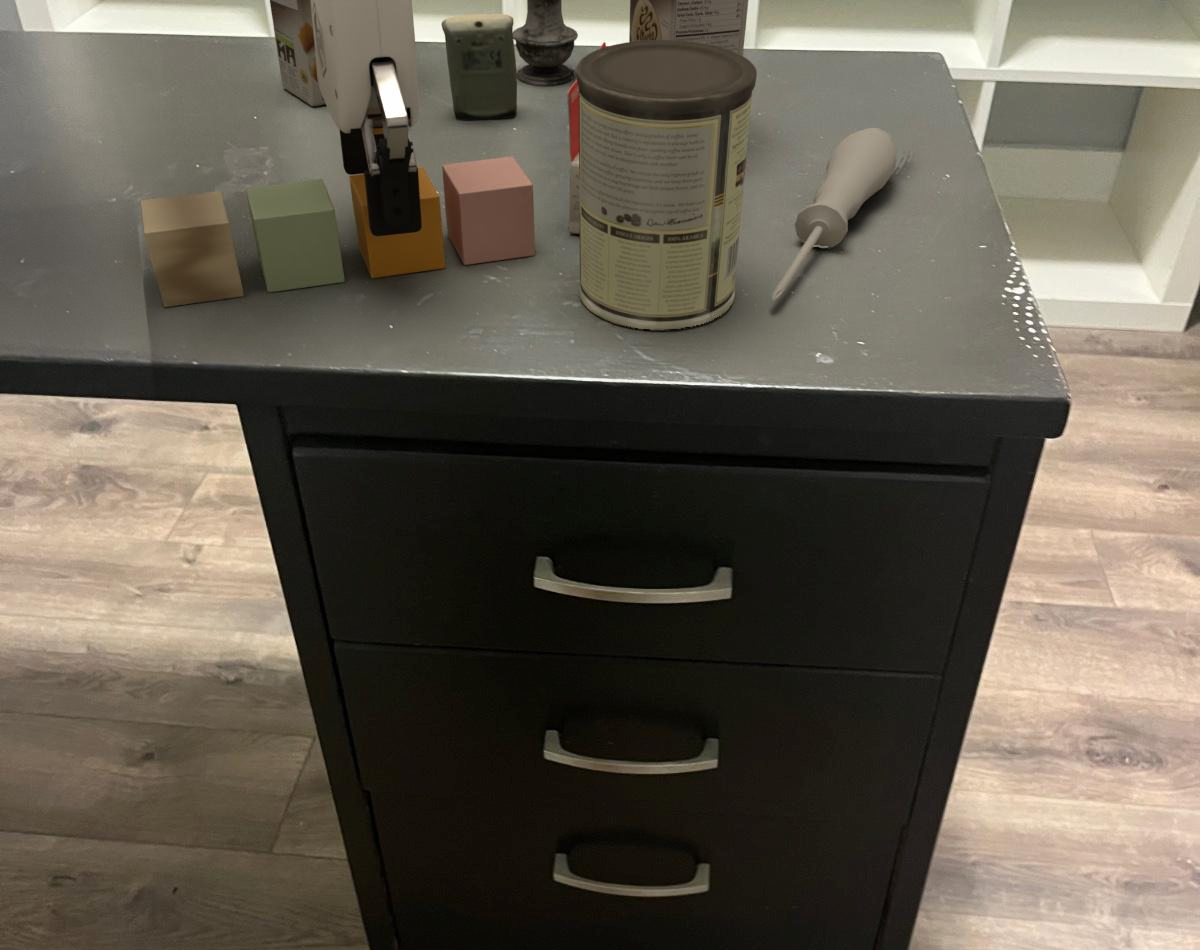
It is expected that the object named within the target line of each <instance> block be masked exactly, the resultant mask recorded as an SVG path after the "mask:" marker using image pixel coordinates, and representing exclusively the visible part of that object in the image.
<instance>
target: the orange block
mask: <svg viewBox="0 0 1200 950" xmlns="http://www.w3.org/2000/svg"><path fill="white" fill-rule="evenodd" d="M417 168H418V177H419V192H420V206H421V221H422V228H421V230H420V231H418V232H413V233H404V234H395V235H386V236H374V235H373V234H372V233H371V230H370V227H369V217H368V207H367V197H366V187H365V177H364V174H354V175H349V177H348V178H349V186H350V194H351V201H352V207H353V216H354V223H355V229H356V230H355V232H356V236H357V237H356V238H357V245H358V248H359V251H360V254H361V255H362V258H363V260H364V263H365V266H366V268H367V270H368V273H369V275H370V278H371V279H376V278H377V279H378V278H383V277H392V276H397V275H406V274H412V273H413V274H414V273H420V272H429V271H434V270H435V271H436V270H441V269H445V268H446V259H445V258H446V257H445V247H444V235H443V234H444V233H443V223H442V214H441V213H442V211H441V201H440V200H441V198H440V195H439V193H438V192H437V190H436V188H435V187H434V185H433V183H432V180H431V178H430V177H429V176H428V174H427V172H426V170H425V169H424V167H423V166H422V167H421V166H420V167H417Z"/></svg>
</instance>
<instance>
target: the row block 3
mask: <svg viewBox="0 0 1200 950" xmlns="http://www.w3.org/2000/svg"><path fill="white" fill-rule="evenodd" d="M441 170H442V185H443V195H444V196H443V197H444V207H445V220H446V221H445V222H446V231H447V236H448V237H449V239H450V241H451V243H452V245H453V247H454V249H455V251H456V252H457V254H458V256H459V258H460V260H461V262H462V263H463V265H464V266H468V265H475V264H482V263H483V264H484V263H490V262H496V261H497V262H498V261H504V260H511V259H518V258H519V259H520V258H526V257H533V256H535V255H536V241H535V239H536V238H535V208H534V203H535V201H534V184H533V182H532V181H531V180H530V179H529V177H528V176H527V174H526V173H525V172H524V170H523V168H522V167H521V166H520V164H519V162H518V161H517V160H516V159H515V157H514V156H504V157H495V158H489V159H479V160H472V161H471V160H470V161H462V162H455V163H454V162H453V163H446V164H442V165H441Z"/></svg>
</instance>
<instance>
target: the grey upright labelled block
mask: <svg viewBox="0 0 1200 950" xmlns="http://www.w3.org/2000/svg"><path fill="white" fill-rule="evenodd" d="M513 27H514V17H512V16H510V15H509V14H504V13H503V14H501V13H478V14H477V13H476V14H461V15H457V16H450V17H447V18H445V19H444V20H442V22H441V29H442V32H443V34H444V42H445V51H446V61H447V68H448V77H449V85H450V92H451V98H452V109H453V114H454V118H455V119H456V120H460V121H474V120H475V121H476V120H494V119H496V120H497V119H509V118H513V117H515V116H516V115H517V111H518V78H517V72H518V71H517V61H516V52H515V51H516V50H515V42H514V41H515V40H514V39H513V31H514V29H513Z"/></svg>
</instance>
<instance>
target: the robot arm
mask: <svg viewBox="0 0 1200 950" xmlns="http://www.w3.org/2000/svg"><path fill="white" fill-rule="evenodd" d="M310 1H311V11H312V21H313V32H314V44H315V56H316V68H317V78H318V84H319V88H320V91H321V93H322V96H323V98H324V101H325V103H326V104H325V105H326V107H327V109H328V112H329V114H330V117H331V118H332V121H333V123H334V124H335V127H337V128H338V130H339V139H340V149H341V156H342V167H343V169H344V172H345V173H346V174H347V175H349V176H352V175H361V174H364V177H365V187H366V197H367V207H368V217H369V227H370V230H371V233H372V234H373V235H374V236H386V235H395V234H404V233H413V232H418V231H420V230H421V228H422V221H421V206H420V192H419V177H418V168H419V167H418V166H417V158H416V152H415V147H414V143H413V137H412V130H411V128H412V127H413V126H414V125H416V123H417V122H418V120H419V115H420V107H419V106H420V104H419V103H420V102H419V101H420V100H419V99H420V98H419V78H418V77H419V75H418V62H417V61H418V59H417V47H416V33H415V32H416V31H415V22H414V12H413V11H414V10H413V0H310Z"/></svg>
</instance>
